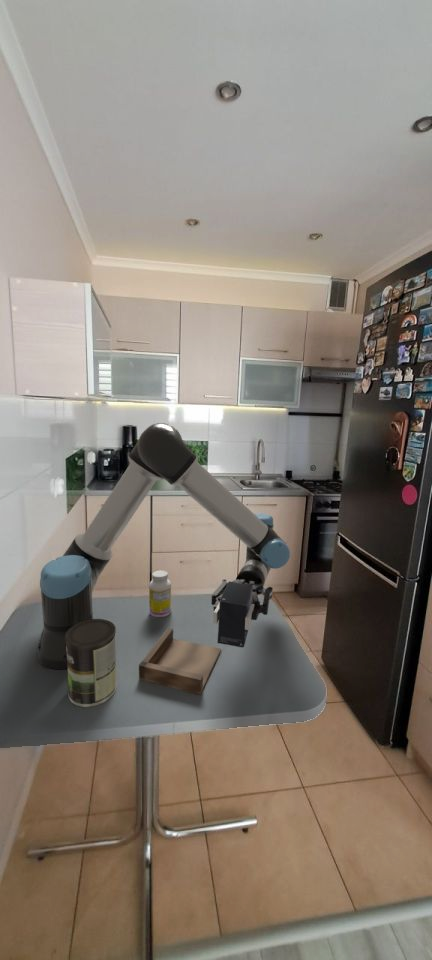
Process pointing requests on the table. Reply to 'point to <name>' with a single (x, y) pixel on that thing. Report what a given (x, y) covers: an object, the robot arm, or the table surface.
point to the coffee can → (91, 662)
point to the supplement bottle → (160, 594)
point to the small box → (234, 614)
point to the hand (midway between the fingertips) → (230, 620)
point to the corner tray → (178, 663)
